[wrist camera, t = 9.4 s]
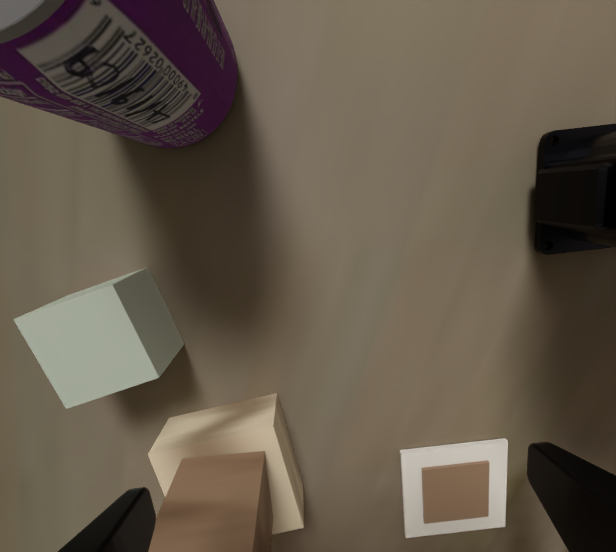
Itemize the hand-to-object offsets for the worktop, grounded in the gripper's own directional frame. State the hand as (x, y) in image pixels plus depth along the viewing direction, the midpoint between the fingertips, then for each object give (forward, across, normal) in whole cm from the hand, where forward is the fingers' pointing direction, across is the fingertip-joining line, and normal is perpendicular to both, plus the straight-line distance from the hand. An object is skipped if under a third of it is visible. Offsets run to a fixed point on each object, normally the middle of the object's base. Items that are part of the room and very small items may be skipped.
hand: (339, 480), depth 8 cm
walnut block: (+9, +6, +9) cm, 14 cm away
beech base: (+13, +6, +9) cm, 17 cm away
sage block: (+13, +11, 0) cm, 17 cm away
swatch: (+12, -8, +14) cm, 20 cm away
